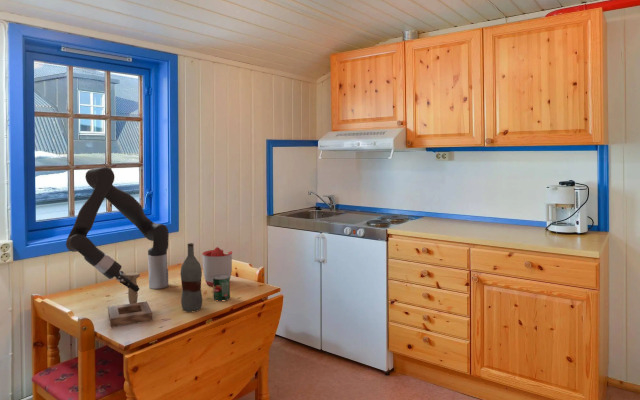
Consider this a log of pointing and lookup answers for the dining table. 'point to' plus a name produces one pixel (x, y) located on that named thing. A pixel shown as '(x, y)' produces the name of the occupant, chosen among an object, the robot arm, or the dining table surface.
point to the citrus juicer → (216, 264)
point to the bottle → (191, 282)
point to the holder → (129, 313)
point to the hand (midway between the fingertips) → (137, 289)
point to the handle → (131, 293)
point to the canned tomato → (221, 287)
